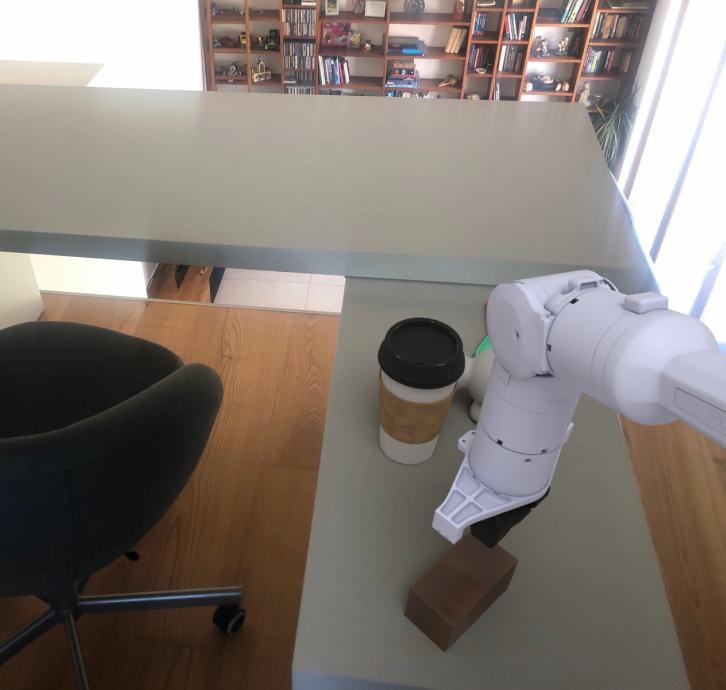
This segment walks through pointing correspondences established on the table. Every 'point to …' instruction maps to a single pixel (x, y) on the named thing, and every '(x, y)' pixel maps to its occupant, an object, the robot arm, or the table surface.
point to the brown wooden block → (459, 590)
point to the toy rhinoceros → (477, 379)
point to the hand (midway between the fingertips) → (485, 536)
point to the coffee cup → (416, 386)
